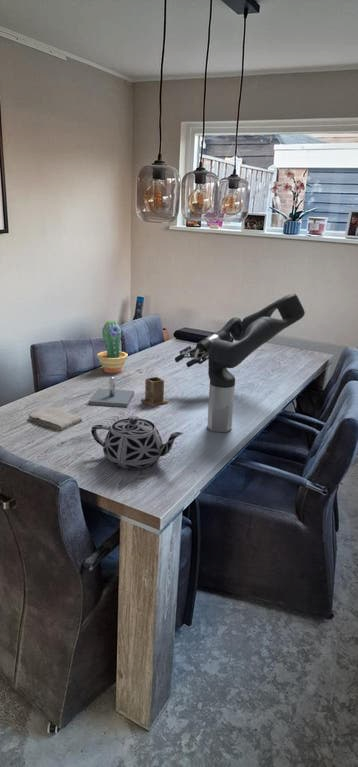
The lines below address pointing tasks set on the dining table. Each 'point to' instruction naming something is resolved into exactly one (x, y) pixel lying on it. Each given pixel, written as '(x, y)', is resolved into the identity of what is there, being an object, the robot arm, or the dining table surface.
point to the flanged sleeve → (154, 392)
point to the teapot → (133, 443)
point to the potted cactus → (112, 348)
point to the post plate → (111, 396)
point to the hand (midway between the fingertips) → (181, 362)
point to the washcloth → (55, 418)
